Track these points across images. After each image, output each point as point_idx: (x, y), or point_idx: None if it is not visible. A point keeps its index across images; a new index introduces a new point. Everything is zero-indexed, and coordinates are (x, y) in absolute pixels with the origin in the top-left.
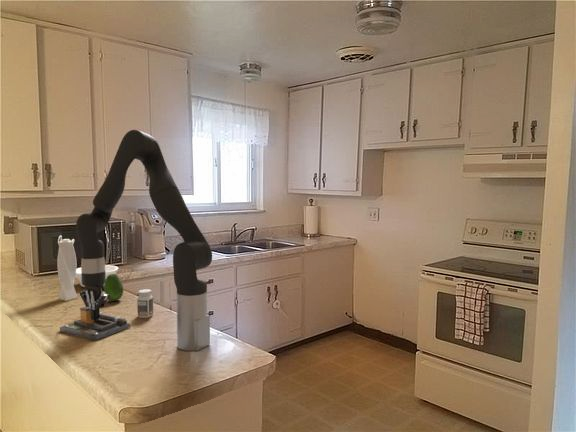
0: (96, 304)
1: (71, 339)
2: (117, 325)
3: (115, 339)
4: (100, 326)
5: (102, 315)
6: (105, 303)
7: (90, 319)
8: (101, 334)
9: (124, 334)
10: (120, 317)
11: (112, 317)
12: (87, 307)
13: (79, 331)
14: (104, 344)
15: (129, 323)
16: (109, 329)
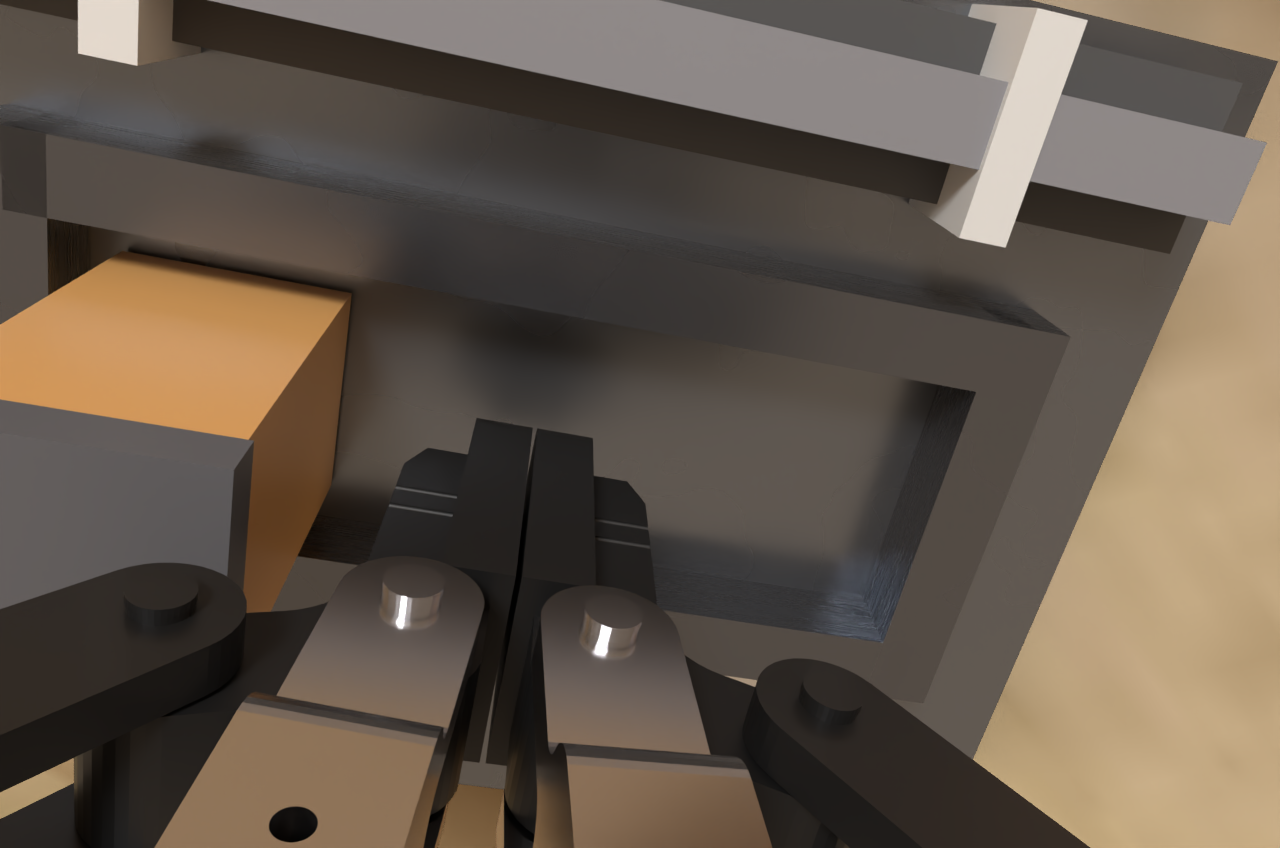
0: (461, 677)
1: (493, 836)
2: (1035, 279)
3: (1202, 648)
4: (850, 644)
5: (355, 32)
6: (1034, 816)
7: (319, 434)
8: (977, 736)
9: (1260, 428)
10: (1062, 77)
11: (807, 128)
12: (37, 581)
13: (491, 765)
14: (1126, 827)
15: (1270, 65)
16: (996, 531)
